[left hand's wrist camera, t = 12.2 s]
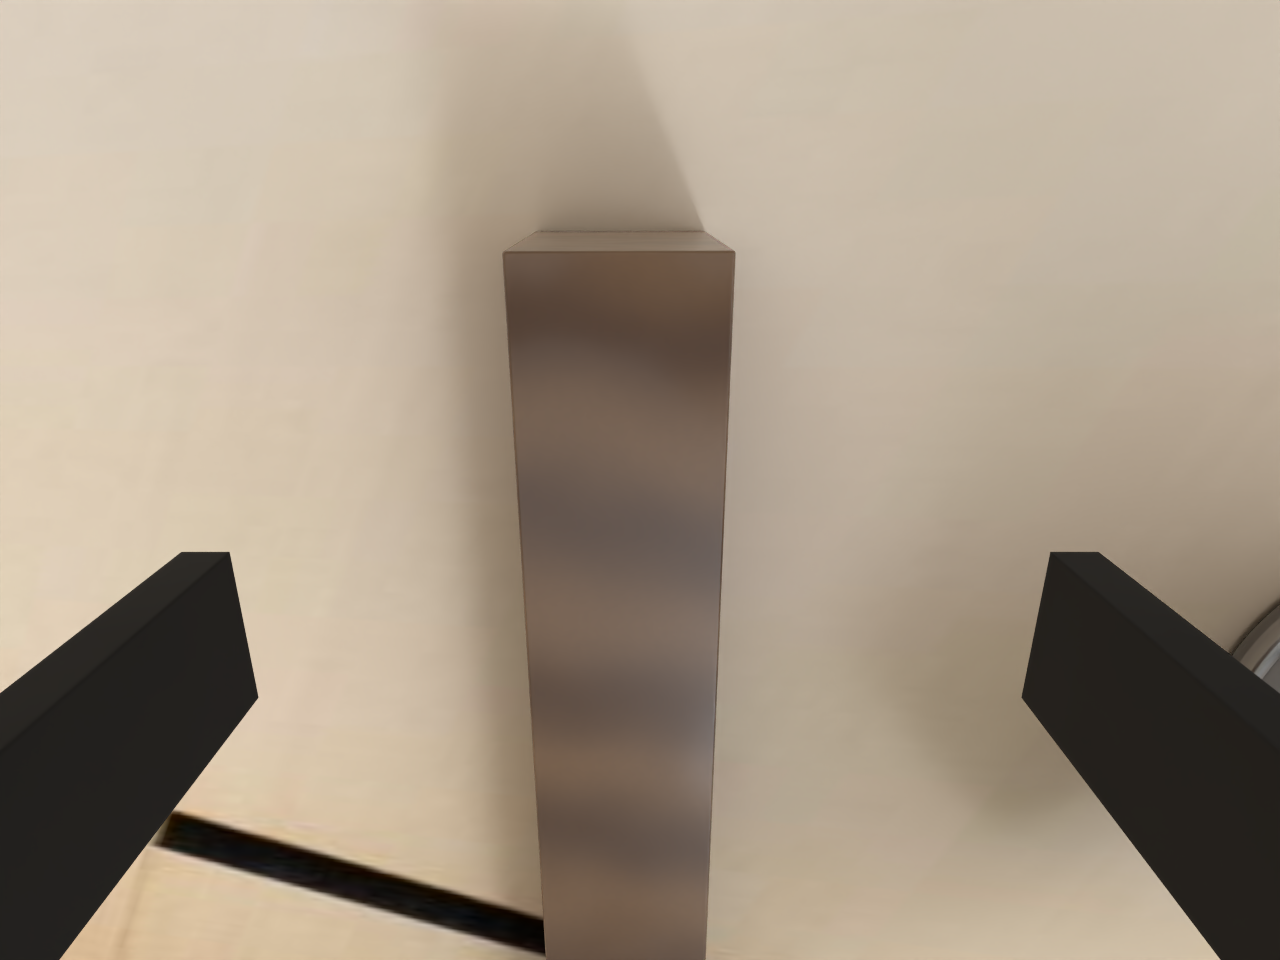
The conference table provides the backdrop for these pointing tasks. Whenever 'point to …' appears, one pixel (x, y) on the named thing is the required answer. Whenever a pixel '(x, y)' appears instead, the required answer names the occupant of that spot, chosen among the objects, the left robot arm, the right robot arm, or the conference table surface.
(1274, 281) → the conference table surface
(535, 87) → the conference table surface
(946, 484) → the conference table surface
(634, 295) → the post
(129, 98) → the conference table surface
